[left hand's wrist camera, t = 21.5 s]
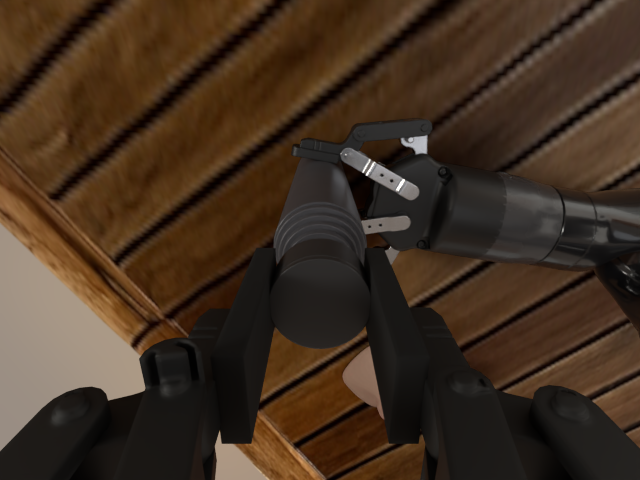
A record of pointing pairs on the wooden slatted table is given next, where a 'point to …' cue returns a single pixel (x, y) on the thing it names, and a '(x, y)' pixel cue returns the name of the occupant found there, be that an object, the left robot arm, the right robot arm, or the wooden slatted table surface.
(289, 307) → the cap
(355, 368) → the anatomical model
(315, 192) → the bottle
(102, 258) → the wooden slatted table surface
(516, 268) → the wooden slatted table surface
